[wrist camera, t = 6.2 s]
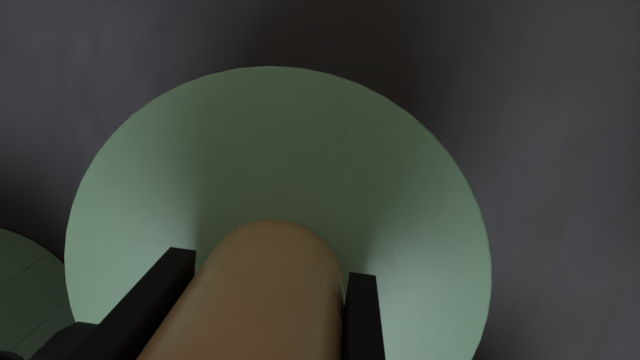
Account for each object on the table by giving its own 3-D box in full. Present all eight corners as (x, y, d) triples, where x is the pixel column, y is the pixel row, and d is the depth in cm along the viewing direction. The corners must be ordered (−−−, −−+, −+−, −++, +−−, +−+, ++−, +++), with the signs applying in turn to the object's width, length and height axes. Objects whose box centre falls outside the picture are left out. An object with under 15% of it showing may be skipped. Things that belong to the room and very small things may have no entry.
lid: (522, 95, 16) (802, 164, 6) (443, 468, 19) (542, 910, 9) (86, 38, 16) (-320, 16, 6) (78, 414, 20) (-203, 787, 10)
